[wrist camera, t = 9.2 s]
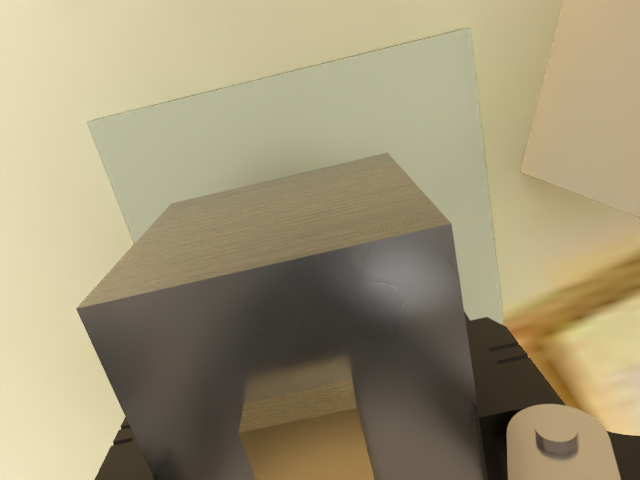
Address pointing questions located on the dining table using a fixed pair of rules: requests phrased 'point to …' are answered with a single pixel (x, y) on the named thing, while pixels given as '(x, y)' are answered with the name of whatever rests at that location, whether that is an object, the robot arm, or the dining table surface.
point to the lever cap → (294, 333)
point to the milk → (591, 105)
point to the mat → (322, 142)
